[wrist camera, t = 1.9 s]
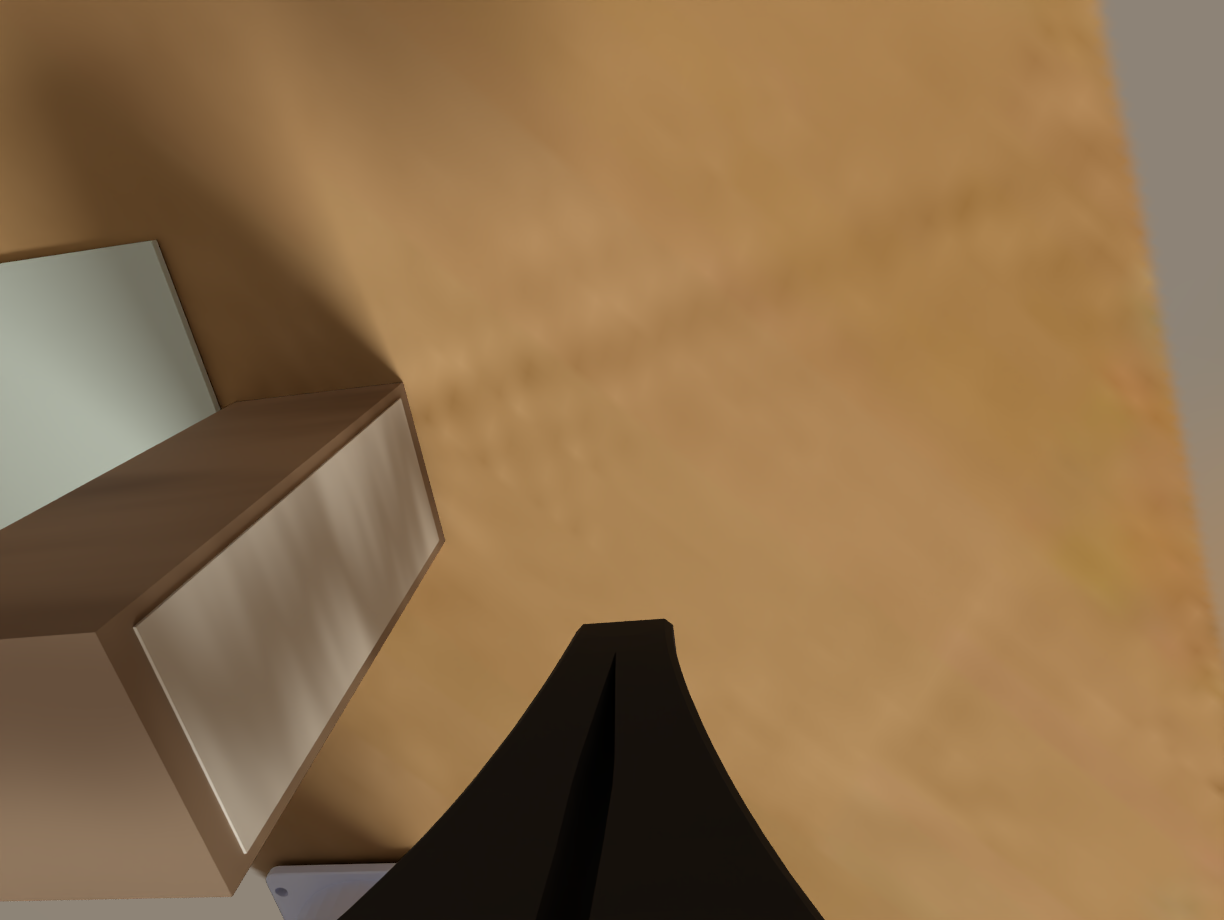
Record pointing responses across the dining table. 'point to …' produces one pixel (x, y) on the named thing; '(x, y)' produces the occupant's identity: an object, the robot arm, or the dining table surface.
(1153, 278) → the dining table surface
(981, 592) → the dining table surface
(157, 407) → the pad
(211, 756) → the walnut block
